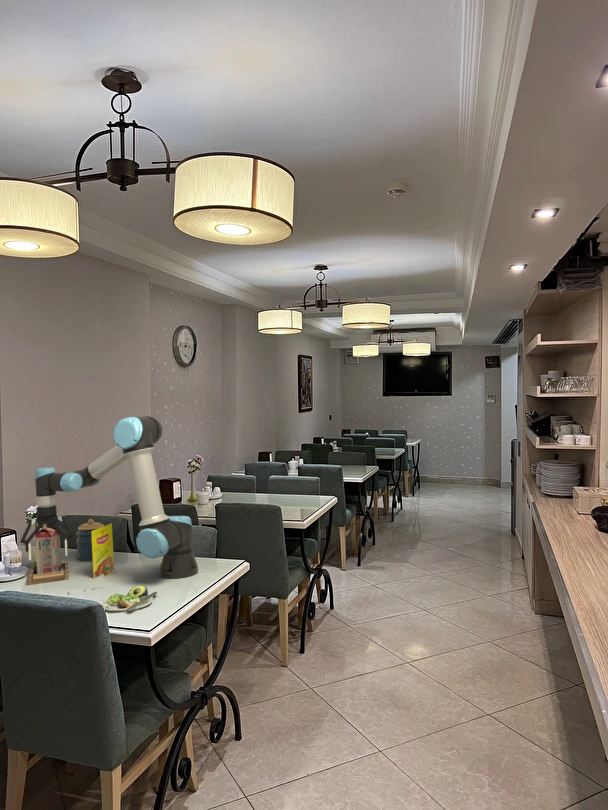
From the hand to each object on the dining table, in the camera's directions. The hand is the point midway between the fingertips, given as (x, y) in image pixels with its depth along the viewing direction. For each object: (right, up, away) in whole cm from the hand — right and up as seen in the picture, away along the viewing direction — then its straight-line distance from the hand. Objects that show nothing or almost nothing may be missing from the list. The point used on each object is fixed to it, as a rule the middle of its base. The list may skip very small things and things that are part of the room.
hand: (48, 557), depth 242 cm
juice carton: (+1, -8, 0) cm, 8 cm away
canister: (+8, -8, +29) cm, 31 cm away
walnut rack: (+2, -8, -4) cm, 9 cm away
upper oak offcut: (+4, -6, -9) cm, 12 cm away
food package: (+24, -7, -3) cm, 25 cm away
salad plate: (+45, -7, -38) cm, 59 cm away
